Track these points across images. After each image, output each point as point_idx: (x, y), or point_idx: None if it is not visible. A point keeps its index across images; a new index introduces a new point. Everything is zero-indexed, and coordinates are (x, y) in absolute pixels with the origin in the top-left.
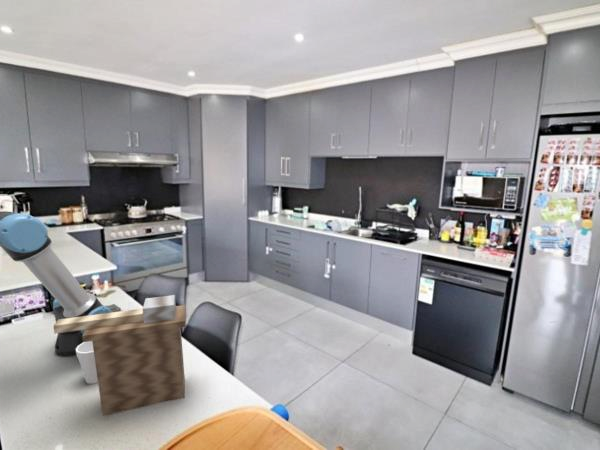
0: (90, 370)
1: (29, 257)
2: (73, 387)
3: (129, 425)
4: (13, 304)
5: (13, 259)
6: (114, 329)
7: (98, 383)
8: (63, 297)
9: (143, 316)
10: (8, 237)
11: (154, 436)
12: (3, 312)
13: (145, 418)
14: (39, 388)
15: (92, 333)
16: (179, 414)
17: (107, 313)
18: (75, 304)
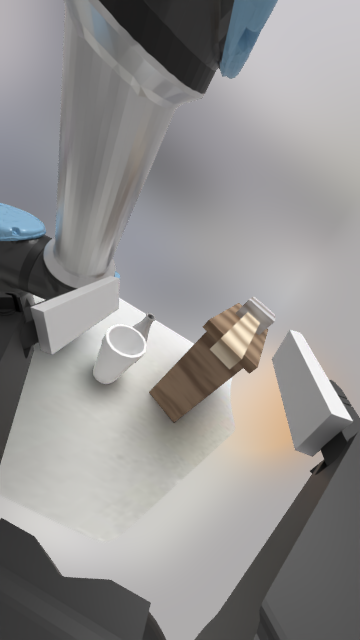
0: (123, 372)
1: (191, 89)
2: (91, 396)
3: (204, 422)
4: (118, 285)
5: (118, 6)
6: (257, 347)
7: (200, 401)
8: (104, 251)
9: (266, 328)
10: None
11: (228, 424)
12: (98, 318)
13: (206, 409)
14: (24, 416)
15: (256, 359)
16: (219, 396)
17: (240, 321)
18: (105, 266)
